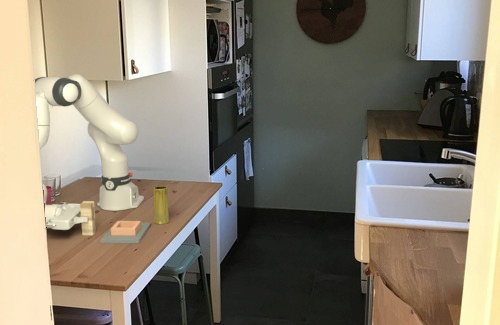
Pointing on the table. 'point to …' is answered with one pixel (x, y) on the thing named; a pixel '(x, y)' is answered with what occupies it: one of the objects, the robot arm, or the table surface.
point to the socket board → (126, 232)
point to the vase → (161, 205)
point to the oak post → (89, 210)
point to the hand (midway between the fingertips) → (90, 216)
